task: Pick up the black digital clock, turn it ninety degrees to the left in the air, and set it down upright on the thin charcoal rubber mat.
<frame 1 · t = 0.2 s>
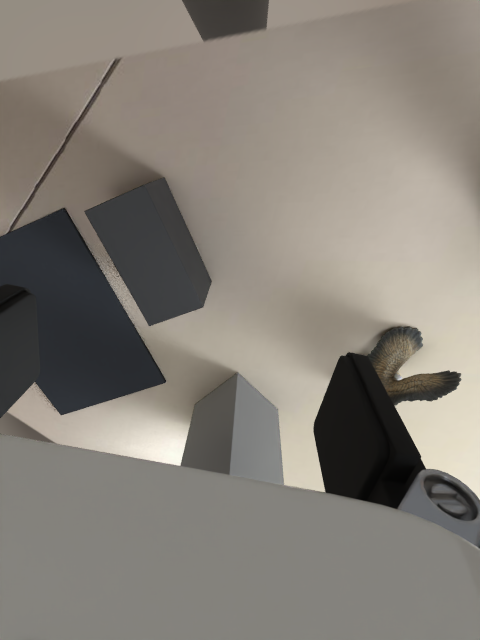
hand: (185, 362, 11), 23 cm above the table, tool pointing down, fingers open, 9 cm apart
eagle figurine: (385, 363, 37), on the table
rubber mat: (63, 325, 37), on the table
perfume bottle: (236, 405, 41), on the table
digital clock: (165, 242, 32), on the table
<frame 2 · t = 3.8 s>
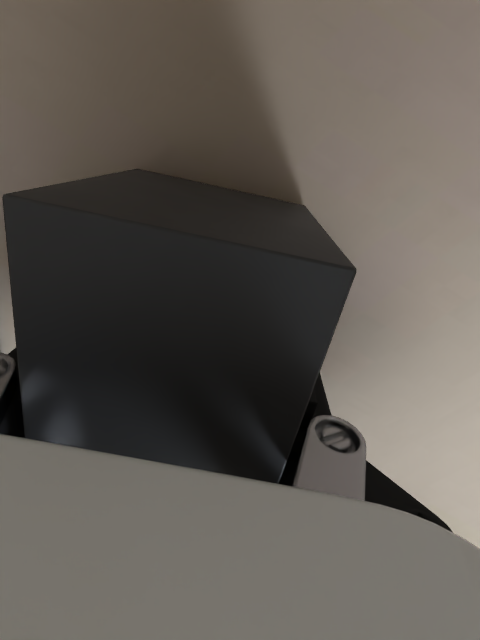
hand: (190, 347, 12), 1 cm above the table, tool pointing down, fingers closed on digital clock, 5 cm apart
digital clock: (196, 335, 12), on the table, touching gripper
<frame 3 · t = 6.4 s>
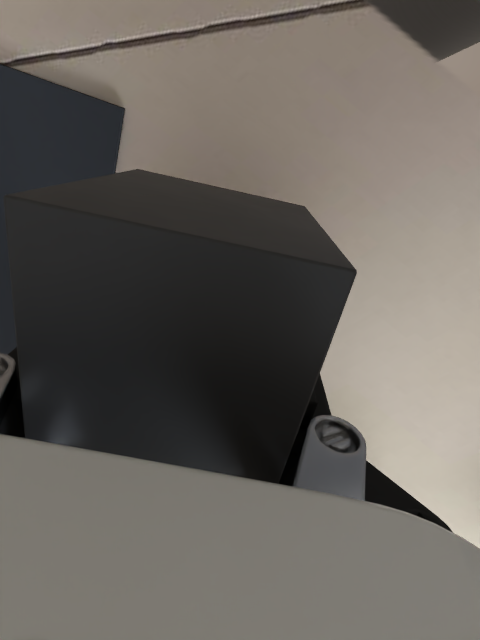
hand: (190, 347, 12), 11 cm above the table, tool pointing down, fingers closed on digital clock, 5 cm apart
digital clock: (196, 335, 12), point 10 cm above the table, touching gripper
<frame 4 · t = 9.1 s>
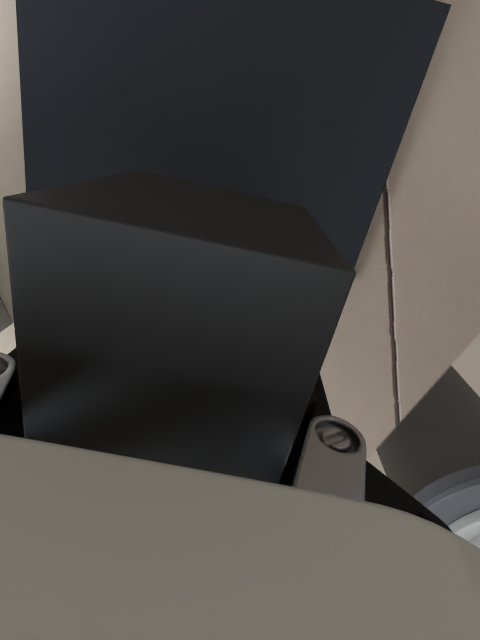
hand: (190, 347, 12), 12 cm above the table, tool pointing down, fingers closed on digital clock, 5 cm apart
rubber mat: (211, 124, 19), on the table
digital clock: (196, 335, 12), point 11 cm above the table, touching gripper
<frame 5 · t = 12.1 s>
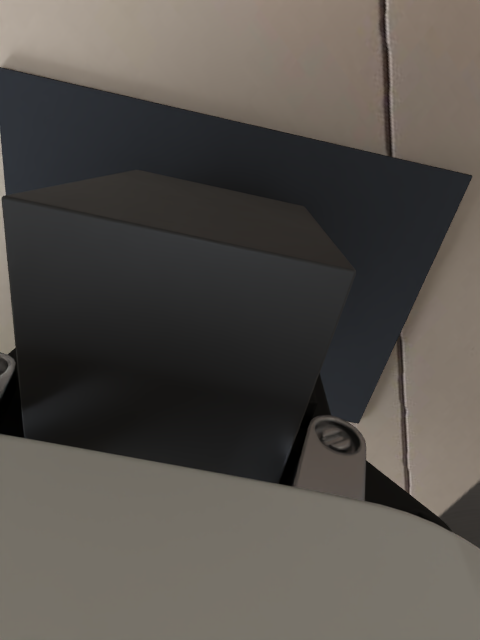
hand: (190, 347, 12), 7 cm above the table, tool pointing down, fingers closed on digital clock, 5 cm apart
rubber mat: (213, 278, 18), on the table
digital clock: (196, 335, 12), point 6 cm above the table, touching gripper
when the fingers open (1 cm above the table, at t = 14.5 s): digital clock stays where it is, resting on rubber mat.
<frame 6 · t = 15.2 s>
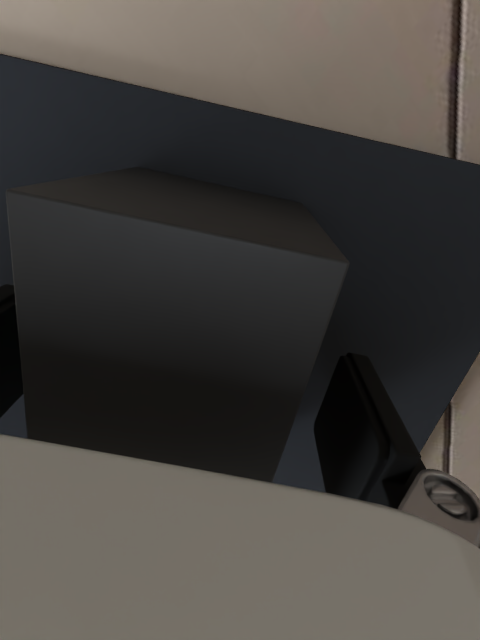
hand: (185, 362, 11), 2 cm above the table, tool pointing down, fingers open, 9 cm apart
rubber mat: (195, 327, 13), on the table
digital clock: (195, 331, 13), resting on rubber mat
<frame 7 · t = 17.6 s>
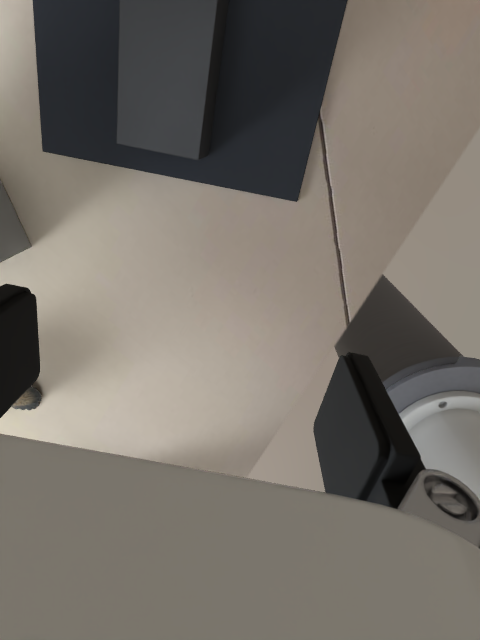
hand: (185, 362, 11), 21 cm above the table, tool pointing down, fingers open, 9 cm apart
eagle figurine: (2, 375, 38), on the table
rubber mat: (183, 71, 25), on the table
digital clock: (183, 70, 24), resting on rubber mat
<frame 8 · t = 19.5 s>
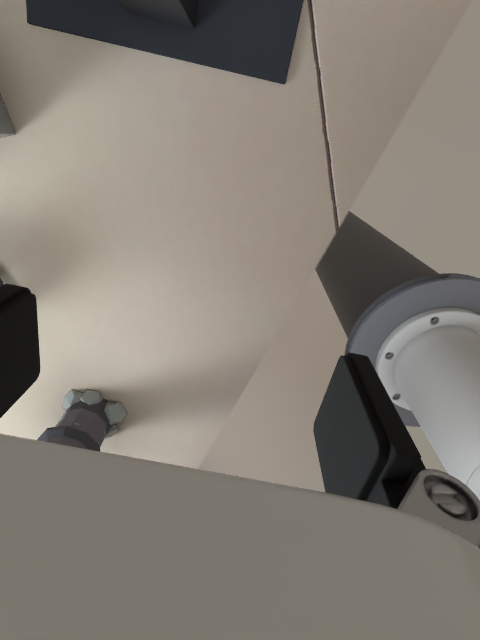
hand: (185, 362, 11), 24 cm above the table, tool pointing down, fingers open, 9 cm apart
model tower: (89, 413, 44), on the table
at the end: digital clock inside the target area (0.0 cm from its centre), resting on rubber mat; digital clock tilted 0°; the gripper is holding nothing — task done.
